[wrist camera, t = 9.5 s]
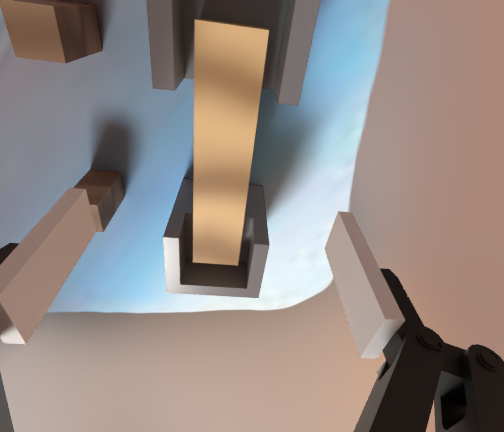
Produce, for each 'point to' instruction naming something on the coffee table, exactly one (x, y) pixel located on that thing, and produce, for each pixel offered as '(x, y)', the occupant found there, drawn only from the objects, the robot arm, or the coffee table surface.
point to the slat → (224, 133)
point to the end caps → (274, 77)
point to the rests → (64, 50)
